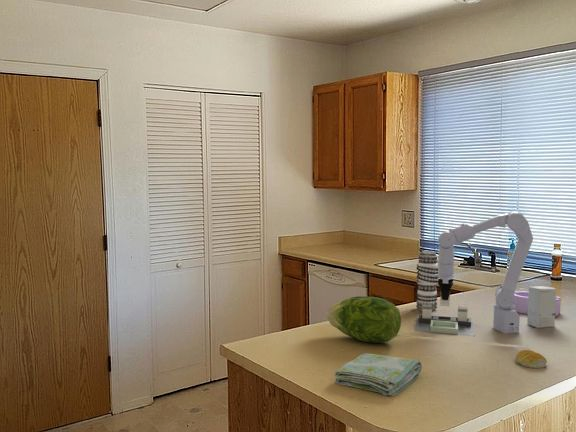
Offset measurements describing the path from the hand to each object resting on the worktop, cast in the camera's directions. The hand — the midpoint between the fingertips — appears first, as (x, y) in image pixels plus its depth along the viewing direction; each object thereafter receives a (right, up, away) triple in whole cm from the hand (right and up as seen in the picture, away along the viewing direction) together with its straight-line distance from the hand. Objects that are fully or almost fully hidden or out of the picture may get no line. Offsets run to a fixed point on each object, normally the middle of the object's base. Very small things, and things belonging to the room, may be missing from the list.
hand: (445, 298), depth 210 cm
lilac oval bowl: (+44, -9, +23) cm, 51 cm away
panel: (-1, -11, -4) cm, 11 cm away
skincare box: (+37, -11, +1) cm, 38 cm away
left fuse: (-6, -9, +3) cm, 11 cm away
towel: (-34, -15, -55) cm, 66 cm away
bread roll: (+14, -14, -42) cm, 46 cm away
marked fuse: (0, -2, 0) cm, 2 cm away
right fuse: (+6, -10, -1) cm, 11 cm away
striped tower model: (-1, -9, +23) cm, 25 cm away
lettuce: (-34, -12, -19) cm, 41 cm away
